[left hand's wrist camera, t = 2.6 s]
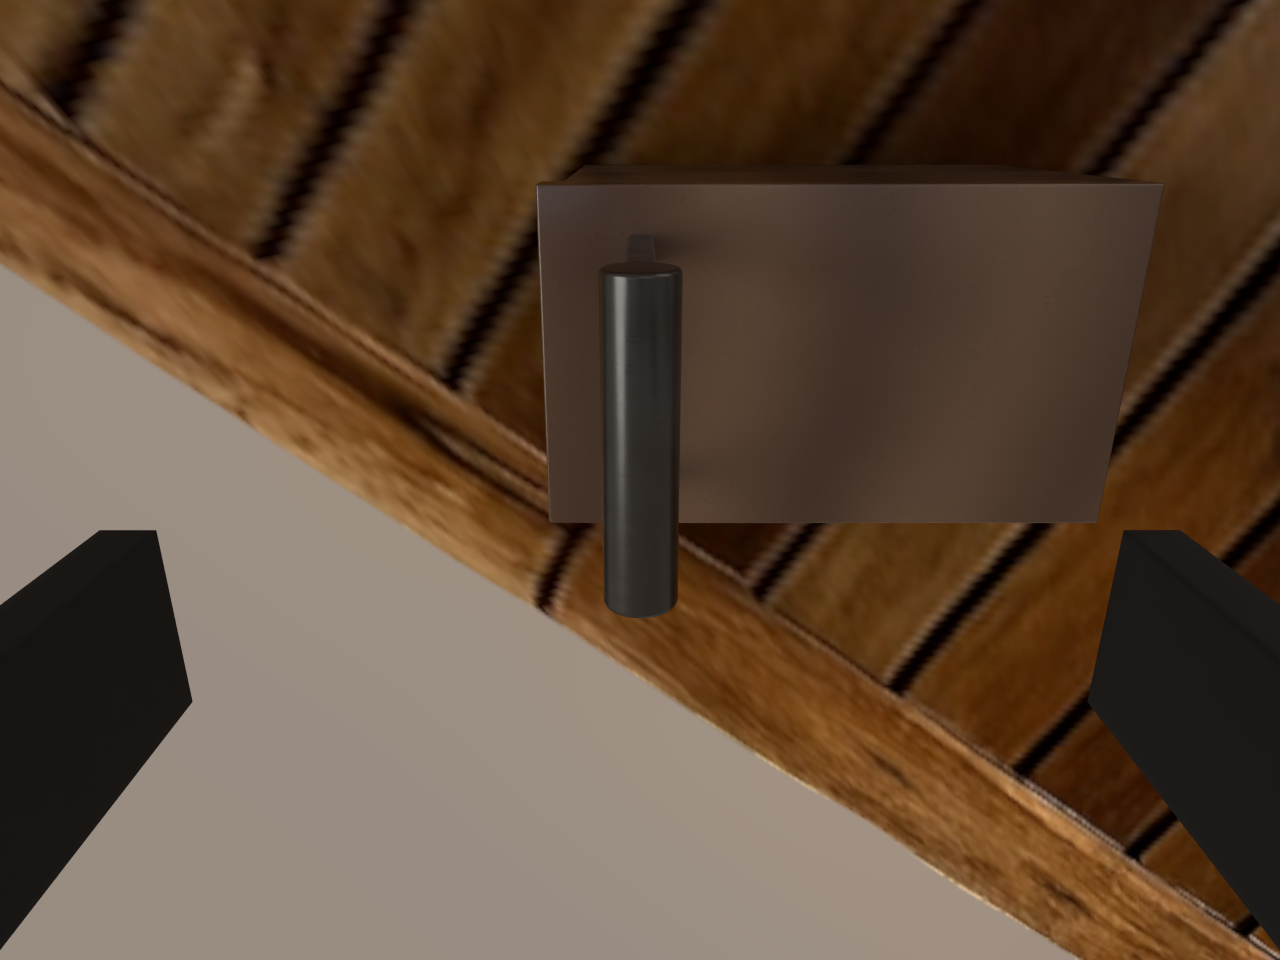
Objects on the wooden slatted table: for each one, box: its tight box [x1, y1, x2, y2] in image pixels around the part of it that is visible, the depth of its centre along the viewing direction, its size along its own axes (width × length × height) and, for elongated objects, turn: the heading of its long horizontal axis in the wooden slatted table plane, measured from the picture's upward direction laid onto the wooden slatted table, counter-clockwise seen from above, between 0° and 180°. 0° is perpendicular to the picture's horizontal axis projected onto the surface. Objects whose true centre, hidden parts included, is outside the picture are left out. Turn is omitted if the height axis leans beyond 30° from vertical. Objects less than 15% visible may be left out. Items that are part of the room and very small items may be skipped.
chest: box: [564, 165, 1137, 182], centre depth 32 cm, size 16×10×11 cm, turn 90°
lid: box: [536, 181, 1164, 618], centre depth 23 cm, size 17×10×9 cm, turn 90°
